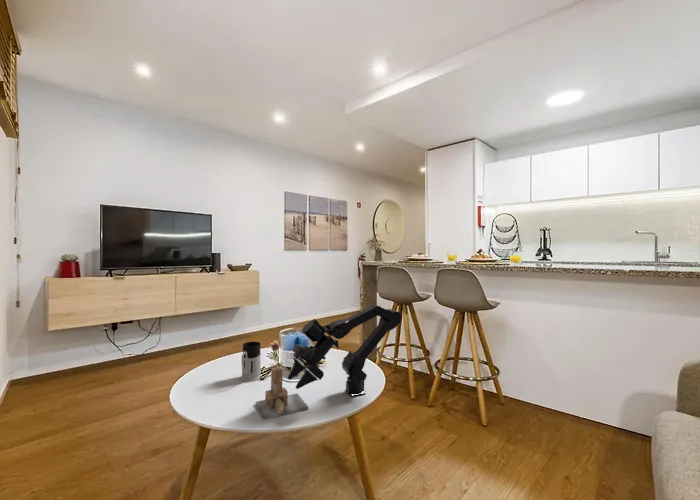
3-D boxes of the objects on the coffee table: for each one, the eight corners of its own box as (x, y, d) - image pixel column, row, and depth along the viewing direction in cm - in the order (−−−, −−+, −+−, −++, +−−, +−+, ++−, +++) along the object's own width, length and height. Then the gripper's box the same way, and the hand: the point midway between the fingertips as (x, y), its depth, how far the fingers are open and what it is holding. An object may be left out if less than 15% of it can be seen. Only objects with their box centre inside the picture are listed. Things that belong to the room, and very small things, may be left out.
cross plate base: (297, 396, 128) (297, 385, 128) (308, 409, 117) (308, 398, 117) (255, 404, 120) (255, 393, 120) (263, 419, 110) (263, 407, 110)
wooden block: (284, 400, 121) (284, 365, 121) (287, 405, 118) (288, 369, 118) (265, 404, 118) (265, 368, 118) (267, 409, 115) (268, 372, 115)
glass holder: (264, 374, 149) (264, 341, 149) (251, 387, 135) (252, 351, 135) (245, 373, 150) (246, 340, 150) (231, 386, 136) (232, 350, 136)
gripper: (298, 330, 131) (270, 362, 126) (315, 342, 115) (284, 379, 110) (316, 347, 135) (290, 379, 130) (335, 361, 119) (306, 398, 113)
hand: (292, 383), depth 121 cm, fingers open, 9 cm apart
